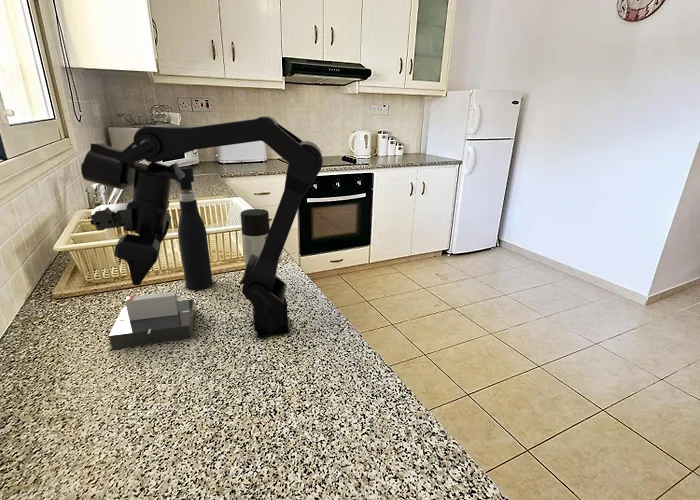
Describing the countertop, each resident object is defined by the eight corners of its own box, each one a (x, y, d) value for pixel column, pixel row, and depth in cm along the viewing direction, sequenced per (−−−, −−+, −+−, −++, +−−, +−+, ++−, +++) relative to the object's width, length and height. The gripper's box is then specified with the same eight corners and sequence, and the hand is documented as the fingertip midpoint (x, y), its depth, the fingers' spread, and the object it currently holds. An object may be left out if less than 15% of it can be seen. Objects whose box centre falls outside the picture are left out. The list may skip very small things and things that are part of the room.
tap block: (195, 308, 85) (194, 296, 84) (190, 341, 74) (188, 327, 72) (127, 316, 81) (124, 304, 80) (110, 352, 70) (106, 338, 69)
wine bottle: (217, 283, 97) (204, 167, 86) (196, 292, 92) (179, 170, 81) (202, 277, 100) (186, 164, 90) (180, 286, 95) (162, 167, 85)
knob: (179, 310, 78) (175, 290, 77) (178, 314, 77) (174, 294, 75) (131, 316, 76) (126, 295, 74) (129, 321, 74) (124, 300, 73)
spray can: (270, 293, 93) (265, 215, 86) (243, 292, 93) (236, 215, 86) (276, 281, 99) (271, 208, 92) (250, 280, 99) (244, 207, 92)
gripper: (112, 173, 72) (106, 246, 77) (79, 202, 55) (74, 292, 61) (175, 186, 76) (165, 255, 81) (162, 217, 60) (150, 300, 65)
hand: (141, 273), depth 72 cm, fingers open, 9 cm apart
